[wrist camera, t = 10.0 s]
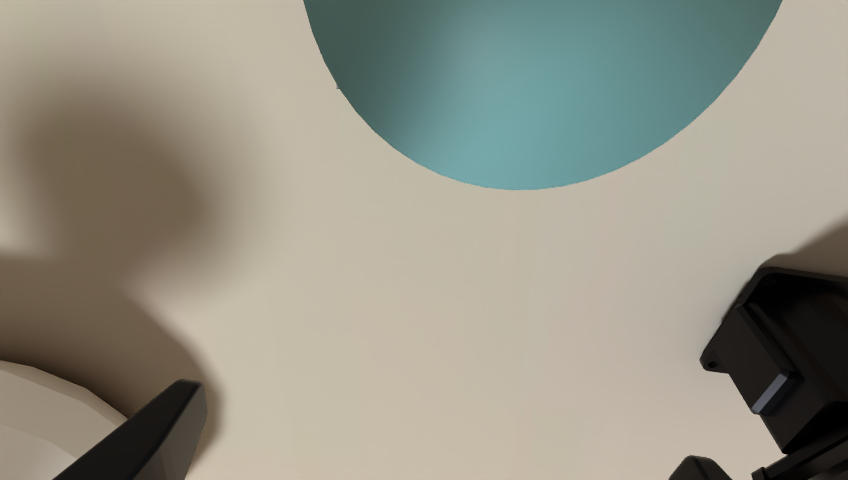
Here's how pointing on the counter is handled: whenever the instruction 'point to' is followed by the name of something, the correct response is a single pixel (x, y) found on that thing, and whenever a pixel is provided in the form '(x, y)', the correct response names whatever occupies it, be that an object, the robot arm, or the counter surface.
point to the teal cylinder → (533, 78)
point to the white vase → (47, 422)
